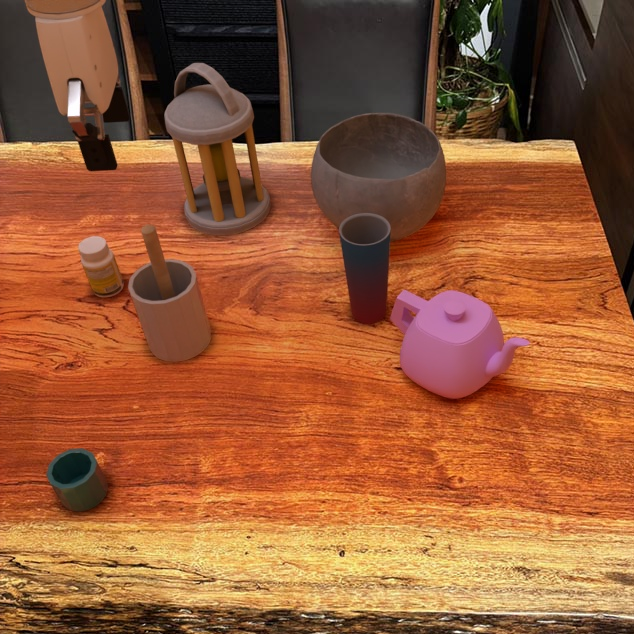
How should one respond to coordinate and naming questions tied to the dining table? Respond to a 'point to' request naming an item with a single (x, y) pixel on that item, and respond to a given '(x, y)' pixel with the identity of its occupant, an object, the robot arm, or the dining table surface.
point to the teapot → (451, 342)
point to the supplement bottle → (100, 267)
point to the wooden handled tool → (157, 261)
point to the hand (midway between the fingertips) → (110, 144)
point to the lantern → (216, 154)
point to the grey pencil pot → (171, 312)
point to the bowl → (380, 171)
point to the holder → (77, 479)
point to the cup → (366, 264)
